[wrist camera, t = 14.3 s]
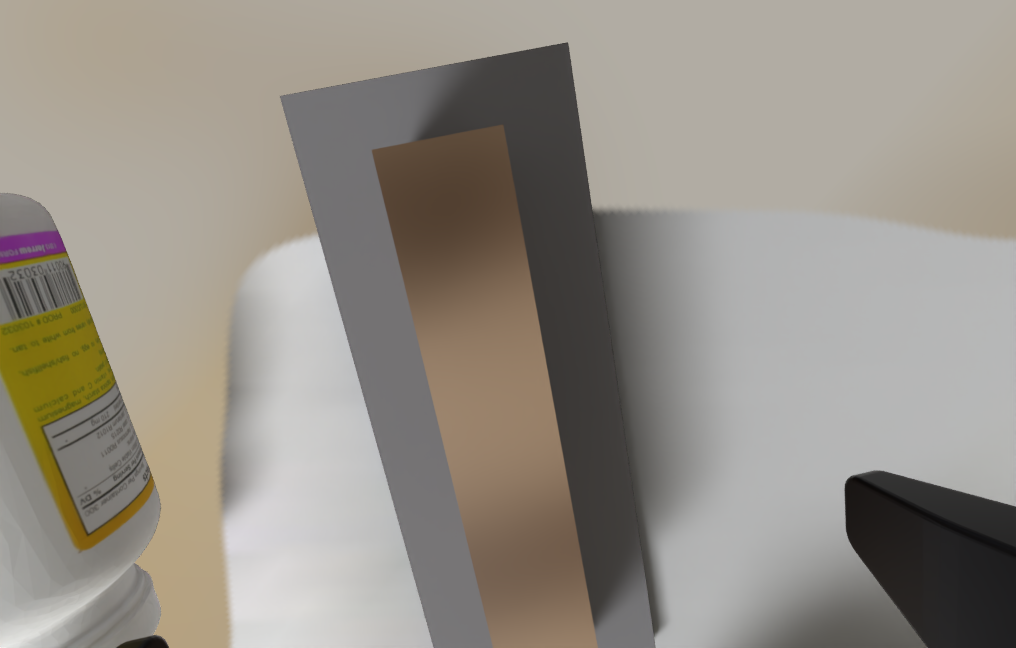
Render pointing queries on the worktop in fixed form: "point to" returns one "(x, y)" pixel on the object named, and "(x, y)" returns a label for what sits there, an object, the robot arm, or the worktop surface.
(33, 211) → the supplement bottle
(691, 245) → the worktop surface
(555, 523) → the brown wooden plank
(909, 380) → the worktop surface
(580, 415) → the mat
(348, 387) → the worktop surface
